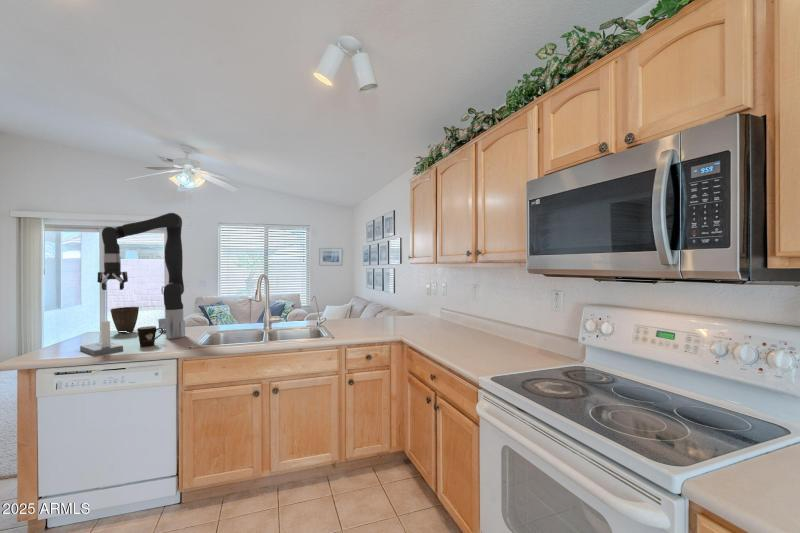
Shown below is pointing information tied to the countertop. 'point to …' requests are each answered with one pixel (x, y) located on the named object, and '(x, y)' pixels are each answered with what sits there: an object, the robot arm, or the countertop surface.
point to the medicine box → (162, 324)
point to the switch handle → (105, 334)
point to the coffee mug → (147, 335)
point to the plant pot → (125, 318)
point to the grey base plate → (100, 348)
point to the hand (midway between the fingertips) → (113, 289)
